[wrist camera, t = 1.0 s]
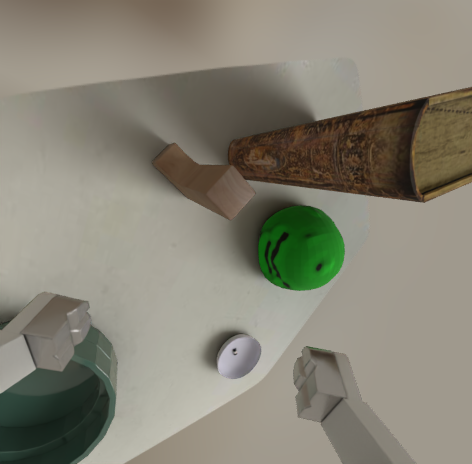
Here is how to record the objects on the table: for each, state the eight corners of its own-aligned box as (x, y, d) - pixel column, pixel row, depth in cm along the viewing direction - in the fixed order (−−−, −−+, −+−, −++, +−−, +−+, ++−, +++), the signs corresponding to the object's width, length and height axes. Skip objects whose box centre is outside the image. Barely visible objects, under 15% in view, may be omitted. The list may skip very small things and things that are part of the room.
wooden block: (205, 181, 34) (257, 193, 21) (188, 199, 34) (231, 221, 21) (169, 144, 31) (204, 129, 18) (150, 162, 31) (172, 162, 18)
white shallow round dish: (218, 378, 44) (222, 387, 42) (209, 342, 41) (213, 349, 40) (258, 358, 46) (263, 365, 45) (252, 322, 44) (257, 329, 42)
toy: (250, 210, 38) (289, 224, 30) (319, 198, 43) (370, 206, 34) (255, 288, 42) (291, 321, 33) (318, 269, 47) (363, 293, 38)
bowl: (-88, 346, 26) (-153, 402, 20) (96, 293, 32) (90, 324, 26) (-17, 457, 32) (-50, 529, 25) (130, 394, 38) (131, 440, 31)
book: (232, 181, 36) (408, 209, 14) (224, 141, 34) (411, 101, 12) (322, 156, 41) (554, 147, 19) (319, 120, 39) (572, 64, 17)
